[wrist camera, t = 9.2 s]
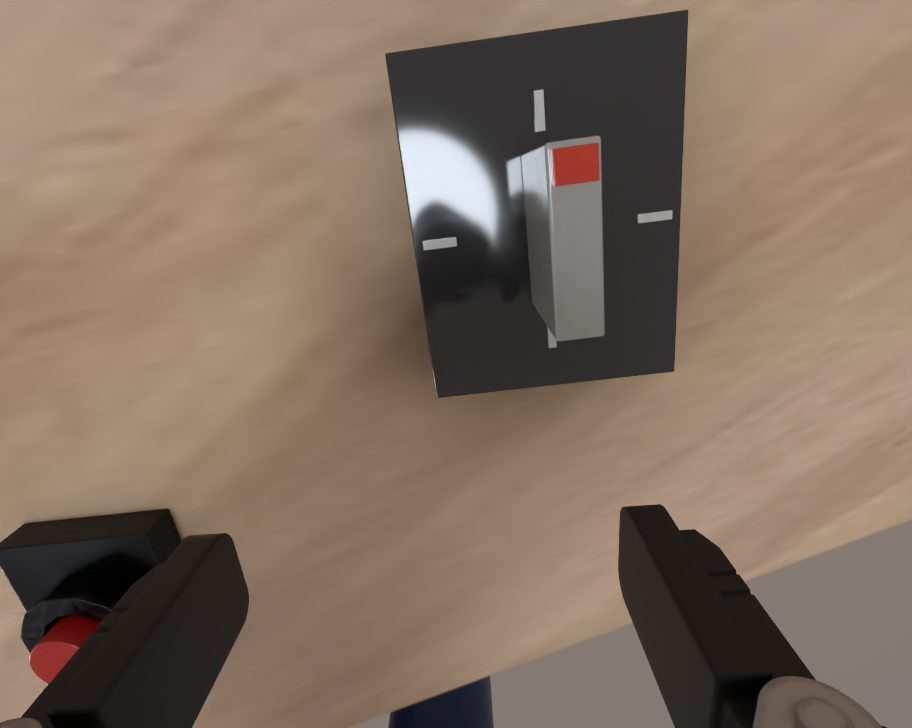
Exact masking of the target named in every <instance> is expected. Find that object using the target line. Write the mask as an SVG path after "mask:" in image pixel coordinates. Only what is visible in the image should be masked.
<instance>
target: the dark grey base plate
mask: <svg viewBox="0 0 912 728" xmlns="http://www.w3.org/2000/svg"><path fill="white" fill-rule="evenodd" d="M687 29H688V10H682V11H675V12H669V13H662V14H655V15H648V16H641V17H634V18H627V19H620V20H613V21H606V22H600V23H593V24H586V25H579V26H572V27H565V28H558V29H551V30H544V31H537V32H530V33H524V34H517V35H510V36H503V37H496V38H489V39H482V40H475V41H468V42H461V43H455V44H448V45H441V46H434V47H427V48H420V49H413V50H406V51H399V52H392V53H386V54H385V57H386V63H387V70H388V77H389V83H390V90H391V97H392V103H393V110H394V117H395V123H396V130H397V136H398V143H399V150H400V156H401V163H402V170H403V176H404V183H405V190H406V196H407V203H408V210H409V216H410V223H411V230H412V236H413V243H414V249H415V256H416V263H417V269H418V276H419V283H420V289H421V296H422V303H423V309H424V316H425V323H426V329H427V336H428V342H429V349H430V356H431V362H432V369H433V376H434V382H435V389H436V396H437V398H441V397H450V396H459V395H468V394H477V393H485V392H494V391H503V390H512V389H521V388H530V387H539V386H548V385H557V384H566V383H575V382H584V381H593V380H602V379H611V378H620V377H629V376H638V375H647V374H655V373H664V372H673V371H674V360H675V335H676V309H677V284H678V258H679V233H680V207H681V182H682V156H683V131H684V105H685V80H686V54H687ZM596 135H598V136H600V137H601V164H602V213H603V263H604V313H605V334H604V336H601V337H592V338H584V339H576V340H567V341H556V339H555V337H554V336H553V334H552V333H551V331H550V330H549V328H548V326H547V325H546V323H545V322H544V320H543V319H542V317H541V315H540V314H539V312H538V311H537V309H536V308H535V306H534V305H533V303H532V295H531V282H530V268H529V255H528V241H527V228H526V214H525V201H524V187H523V174H522V160H521V156H522V154H524V153H526V152H528V151H530V150H532V149H535V148H537V147H539V146H541V145H543V144H545V143H547V142H553V141H561V140H568V139H575V138H582V137H589V136H596Z"/></svg>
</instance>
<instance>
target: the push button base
mask: <svg viewBox="0 0 912 728" xmlns="http://www.w3.org/2000/svg"><path fill="white" fill-rule="evenodd" d="M180 543H181V541H180V538H179V536H178V533H177V531H176V528H175V526H174V523H173V521H172V518H171V516H170V513H169V511H168V510H158V511H148V512H138V513H129V514H119V515H110V516H100V517H90V518H81V519H71V520H61V521H52V522H42V523H33V524H24V525H22V526H21V527H20V528H18V529H17V530H16V531H15V532H13V533H12V534H11V535H9V536H8V537H7V538H6V539H4V540H3V541H2V542H0V567H1V568H2V570H3V572H4V574H5V575H6V577H7V579H8V580H9V582H10V584H11V586H12V587H13V589H14V591H15V593H16V594H17V596H18V598H19V599H20V601H21V603H22V605H23V606H24V608H25V610H26V612H27V613H26V614H25V615H24V616H23V623H22V631H21V639H22V641H23V642H24V644H25V646H26V647H27V649H28V651H29V652H30V653H31V651H32V649H33V648H34V647H35V646H36V645H37V644H38V643H39V641H40V640H41V639H42V638H43V637H44V636H45V635H46V634H47V633H48V632H49V631H50V629H51V628H52V627H53V626H54V625H55V624H56V623H57V622H58V621H59V620H60V619H62V618H64V617H66V616H71V615H80V616H83V617H87V618H90V619H94V620H97V621H100V622H101V621H102V620H103V619H104V618H105V617H106V615H107V614H108V613H112V611H113V607H114V606H115V605H116V603H117V602H118V601H119V600H120V599H121V597H122V596H123V595H124V594H125V593H126V591H127V590H128V589H129V588H130V587H131V585H132V584H134V583H135V582H136V581H138V580H139V579H140V578H141V577H143V576H144V575H145V574H147V573H148V572H149V571H150V570H152V569H153V568H154V567H156V566H157V565H158V564H164V563H165V561H166V560H167V559H168V558H169V556H170V555H171V554H172V553H173V551H174V550H175V549H176V548H177V546H178V545H179V544H180Z"/></svg>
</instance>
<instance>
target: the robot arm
mask: <svg viewBox="0 0 912 728" xmlns="http://www.w3.org/2000/svg"><path fill="white" fill-rule="evenodd" d="M618 571H619V580H620V586H621V591H622V595H623V598H624V601H625V604H626V606H627V609H628V611H629V614H630V616H631V619H632V621H633V624H634V626H635V629H636V631H637V634H638V636H639V639H640V641H641V644H642V646H643V649H644V651H645V654H646V656H647V659H648V661H649V664H650V666H651V669H652V671H653V674H654V676H655V679H656V681H657V684H658V686H659V689H660V691H661V694H662V696H663V699H664V701H665V704H666V706H667V709H668V711H669V714H670V716H671V719H672V721H673V724H674V726H675V728H886V727H884V726H881V725H880V724H879V723H878V722H877V721H876V720H875V719H874V718H873V716H872V715H871V714H870V713H869V712H867V711H866V710H865V709H864V708H863V707H862V706H861V705H859V704H858V703H857V702H855V701H854V700H853V699H851V698H850V697H849V696H847V695H845V694H844V693H842V692H840V691H839V690H837V689H835V688H833V687H831V686H828V685H827V684H824V683H822V682H819V681H816V680H815V678H814V677H813V676H812V674H811V673H810V672H809V670H808V669H807V667H806V666H805V665H804V663H803V662H802V661H801V659H800V658H799V657H798V655H797V654H796V652H795V651H794V650H793V648H792V647H791V646H790V644H789V643H788V641H787V640H786V639H785V637H784V636H783V634H782V633H781V632H780V630H779V629H778V628H777V626H776V625H775V623H774V622H773V621H772V620H771V618H770V617H769V615H768V614H767V612H766V611H765V610H764V608H763V607H762V606H761V604H760V603H759V601H758V600H757V599H756V597H755V596H754V595H751V593H750V589H749V588H748V586H747V585H746V584H745V582H744V581H743V579H742V578H741V577H740V575H737V574H736V570H735V568H734V567H733V566H732V564H731V563H730V562H729V560H728V559H727V557H726V556H725V555H724V553H723V552H722V551H721V549H720V548H719V547H718V546H716V545H715V544H714V543H712V542H711V541H710V540H708V539H707V538H706V537H704V536H703V535H702V534H700V533H699V532H697V531H696V530H695V529H693V530H679V529H678V527H677V526H676V524H675V523H674V521H673V520H672V518H671V516H670V515H669V513H668V512H667V510H666V509H665V508H664V506H662V505H660V504H658V505H644V506H629V507H622V509H621V511H620V528H619V562H618ZM248 606H249V594H248V589H247V585H246V582H245V579H244V575H243V572H242V569H241V565H240V562H239V559H238V556H237V552H236V549H235V546H234V542H233V540H232V538H231V537H230V535H228V534H226V533H222V534H207V535H193V536H188V537H186V538H185V539H183V540H182V541H181V543H180V544H179V545H178V546H177V548H176V549H175V550H174V551H173V553H172V554H171V555H170V556H169V558H168V559H167V560H166V561H165V563H164V564H158V565H157V566H156V567H154V568H153V569H152V570H150V571H149V572H148V573H147V574H145V575H144V576H143V577H141V578H140V579H139V580H138V581H136V582H135V583H134V584H132V585H131V587H130V588H129V589H128V590H127V591H126V593H125V594H124V595H123V596H122V597H121V599H120V600H119V601H118V602H117V603H116V605H115V606H114V607H113V611H112V613H108V614H107V615H106V617H105V618H104V619H103V620H102V621H101V622H100V624H99V625H98V626H97V627H96V632H95V633H91V634H90V636H89V637H88V638H87V639H86V640H85V642H84V643H83V644H82V645H81V646H80V648H79V649H78V650H77V651H76V652H75V654H74V655H73V656H72V657H71V658H70V659H69V661H68V662H67V663H66V664H65V665H64V667H63V668H62V669H61V670H60V671H59V673H58V674H57V675H56V676H55V677H54V679H53V680H52V681H51V682H50V683H49V685H48V686H47V687H46V688H45V689H44V691H43V692H42V693H41V694H40V695H39V696H38V698H37V699H36V700H35V701H34V702H33V704H32V705H31V706H30V707H29V708H28V710H27V711H26V712H25V713H24V714H23V715H22V717H21V718H16V719H11V720H7V721H4V722H2V723H0V728H192V726H193V724H194V722H195V720H196V718H197V716H198V714H199V712H200V710H201V708H202V706H203V704H204V702H205V700H206V698H207V696H208V694H209V692H210V691H211V689H212V687H213V685H214V683H215V681H216V679H217V677H218V675H219V673H220V671H221V669H222V667H223V665H224V663H225V661H226V659H227V657H228V655H229V653H230V651H231V649H232V647H233V645H234V643H235V641H236V639H237V637H238V635H239V633H240V631H241V629H242V627H243V625H244V622H245V620H246V616H247V612H248Z"/></svg>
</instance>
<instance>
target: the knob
mask: <svg viewBox="0 0 912 728" xmlns="http://www.w3.org/2000/svg"><path fill="white" fill-rule="evenodd" d="M521 160H522V174H523V187H524V201H525V214H526V228H527V241H528V255H529V268H530V282H531V295H532V303H533V305H534V306H535V308H536V309H537V311H538V312H539V314H540V315H541V317H542V319H543V320H544V322H545V323H546V325H547V326H548V328H549V330H550V331H551V333H552V334H553V336H554V337H555V339H556V341H567V340H576V339H584V338H592V337H601V336H604V334H605V313H604V263H603V213H602V164H601V137H600V136H598V135H596V136H589V137H582V138H575V139H568V140H561V141H553V142H547V143H545V144H543V145H541V146H539V147H537V148H535V149H532V150H530V151H528V152H526V153H524V154H522V156H521Z"/></svg>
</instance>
